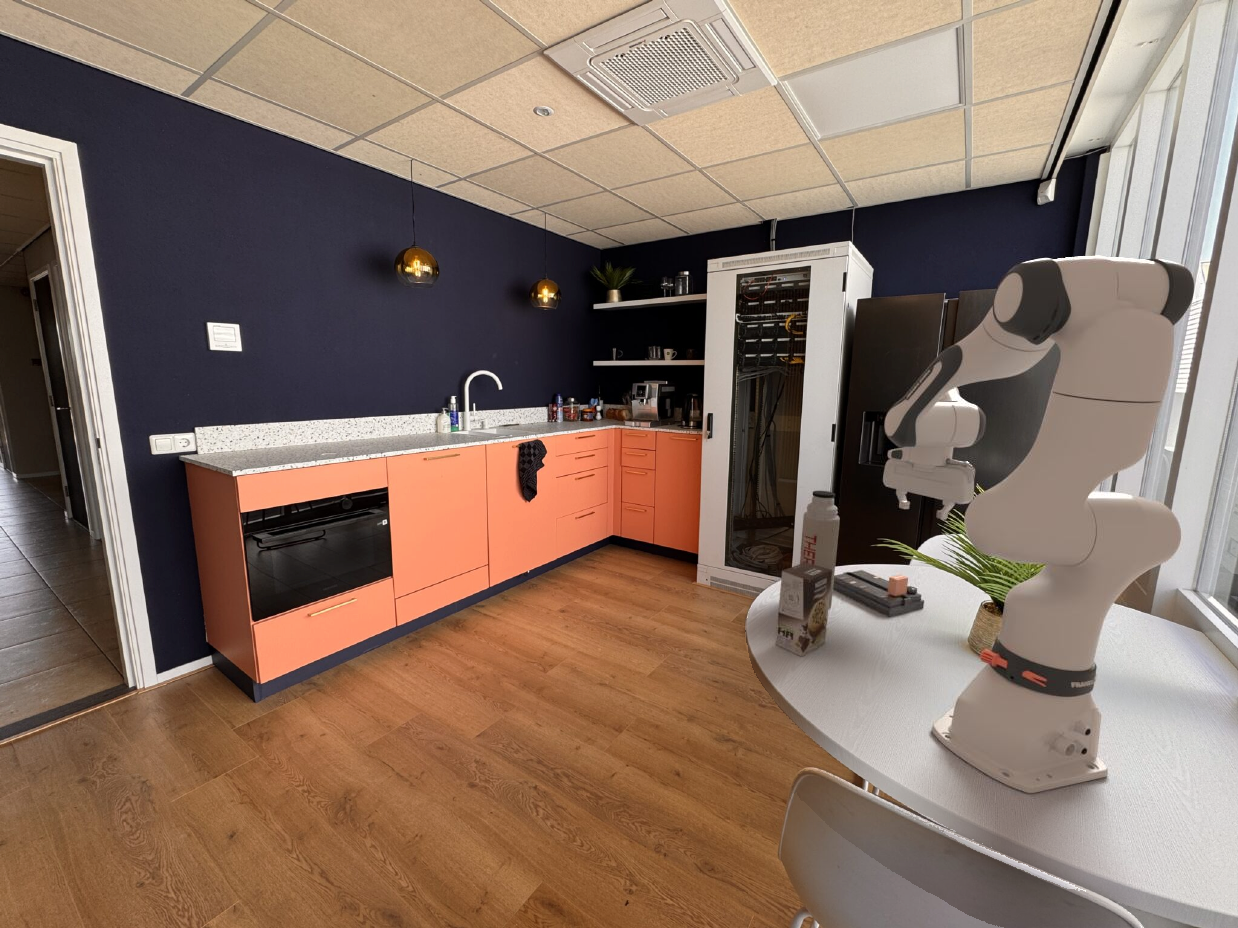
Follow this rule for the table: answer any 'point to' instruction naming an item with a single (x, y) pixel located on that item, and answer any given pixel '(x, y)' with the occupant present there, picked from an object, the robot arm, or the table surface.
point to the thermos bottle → (821, 533)
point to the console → (876, 593)
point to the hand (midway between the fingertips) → (922, 513)
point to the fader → (897, 585)
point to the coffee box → (803, 608)
